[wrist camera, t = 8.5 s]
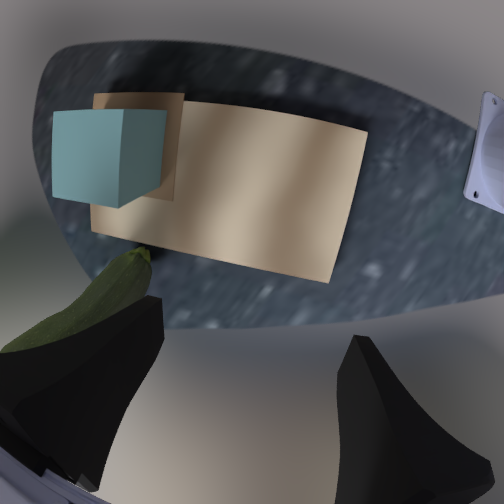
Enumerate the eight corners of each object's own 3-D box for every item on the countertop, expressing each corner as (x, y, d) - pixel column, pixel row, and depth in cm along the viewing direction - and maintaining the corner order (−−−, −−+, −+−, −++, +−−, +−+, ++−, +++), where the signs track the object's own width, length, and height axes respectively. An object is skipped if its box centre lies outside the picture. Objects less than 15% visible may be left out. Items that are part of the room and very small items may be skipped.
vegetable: (173, 285, 23) (22, 514, 5) (130, 290, 24) (-17, 477, 6) (155, 233, 21) (-55, 451, 3) (111, 242, 22) (-76, 417, 4)
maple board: (365, 124, 16) (369, 124, 15) (327, 274, 21) (328, 284, 19) (104, 94, 17) (94, 93, 16) (100, 225, 22) (91, 231, 21)
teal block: (167, 110, 16) (123, 109, 12) (159, 186, 18) (118, 208, 14) (103, 109, 17) (53, 111, 12) (99, 178, 19) (52, 196, 14)
